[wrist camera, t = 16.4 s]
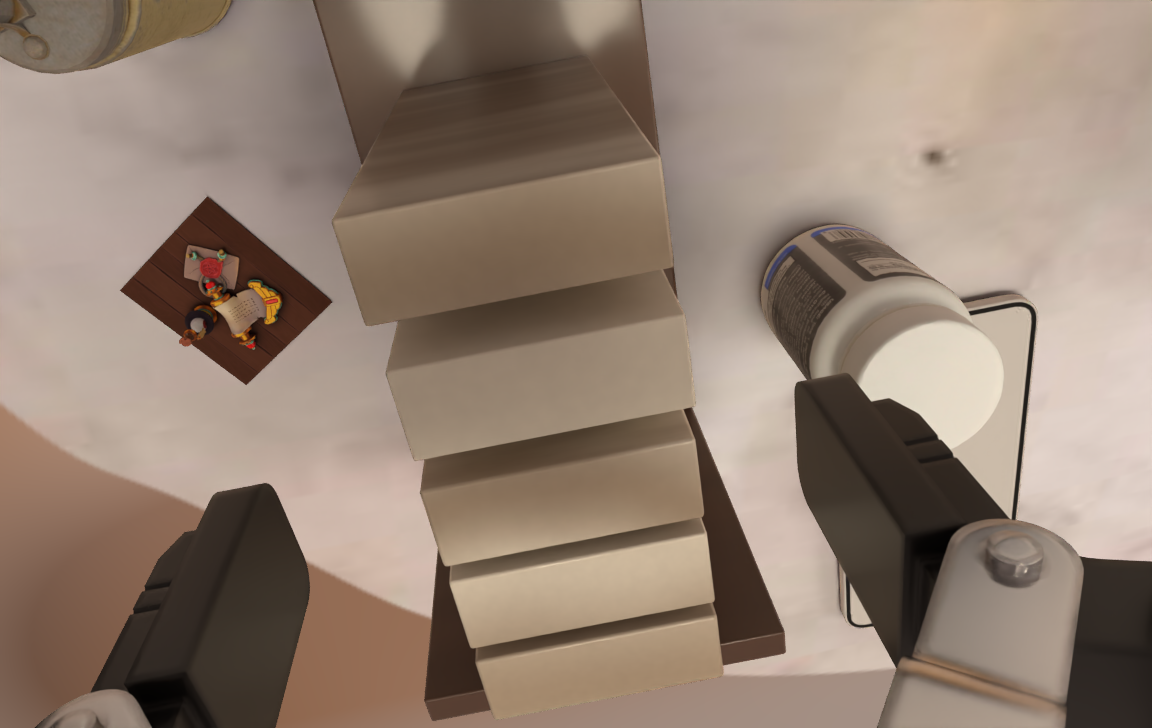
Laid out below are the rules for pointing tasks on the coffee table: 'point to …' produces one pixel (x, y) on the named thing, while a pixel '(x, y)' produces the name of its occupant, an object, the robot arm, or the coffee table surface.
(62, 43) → the lighter
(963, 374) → the pill bottle
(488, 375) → the beige box
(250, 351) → the diorama
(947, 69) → the coffee table surface
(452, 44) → the wooden book rack
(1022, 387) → the smartphone
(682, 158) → the coffee table surface
